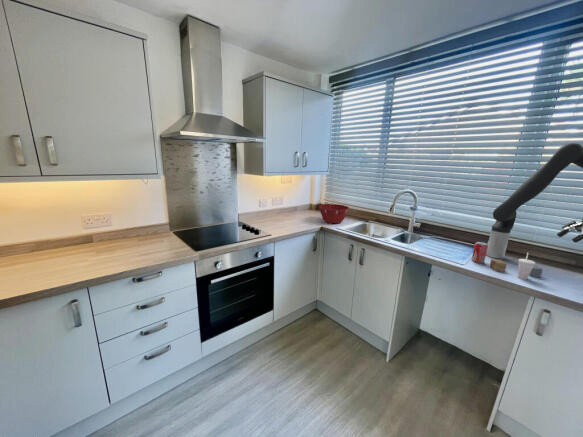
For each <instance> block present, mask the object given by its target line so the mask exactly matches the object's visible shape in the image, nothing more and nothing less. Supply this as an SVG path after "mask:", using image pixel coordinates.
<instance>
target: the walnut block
mask: <svg viewBox="0 0 583 437" xmlns="http://www.w3.org/2000/svg"><path fill="white" fill-rule="evenodd" d="M507 264H508V263H506V262H505V261H504V260H503V259H495V258H491V259H490V263H489V268H490V269H492V270H493V271H495V272H503V273H504V272H505V271H506V268H507Z"/></svg>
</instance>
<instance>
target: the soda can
mask: <svg viewBox="0 0 583 437" xmlns="http://www.w3.org/2000/svg"><path fill="white" fill-rule="evenodd" d="M487 244H488V243H487V242H483V241H476V242H475V243H474V248H473V252H472V256H471V260H472V261H473V262H474V263H477V264H483V263H485V262H486V256H487V255H486V252H487V248H488V246H487Z"/></svg>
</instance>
